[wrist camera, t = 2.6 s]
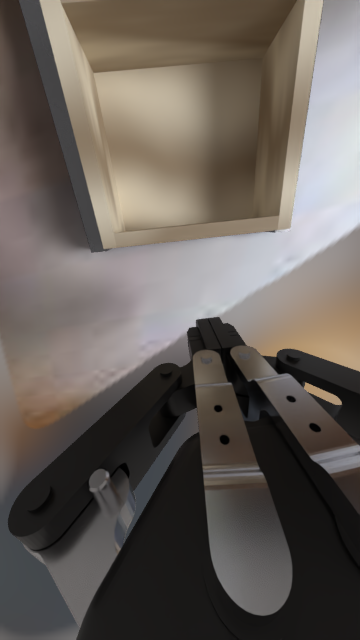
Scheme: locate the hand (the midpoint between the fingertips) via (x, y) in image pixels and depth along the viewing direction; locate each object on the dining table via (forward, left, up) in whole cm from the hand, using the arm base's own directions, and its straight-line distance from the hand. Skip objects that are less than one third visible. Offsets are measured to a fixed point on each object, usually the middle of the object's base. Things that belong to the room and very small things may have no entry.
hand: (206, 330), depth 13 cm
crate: (-11, 0, -7) cm, 13 cm away
